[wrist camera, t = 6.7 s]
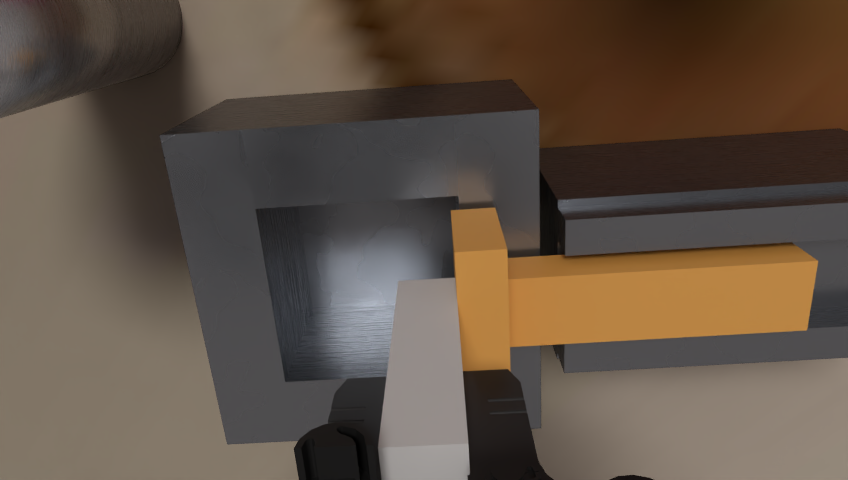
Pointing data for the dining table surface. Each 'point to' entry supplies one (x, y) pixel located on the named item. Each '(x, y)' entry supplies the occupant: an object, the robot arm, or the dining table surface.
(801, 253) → the lock pin
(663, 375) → the dining table surface
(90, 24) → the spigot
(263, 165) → the dock
